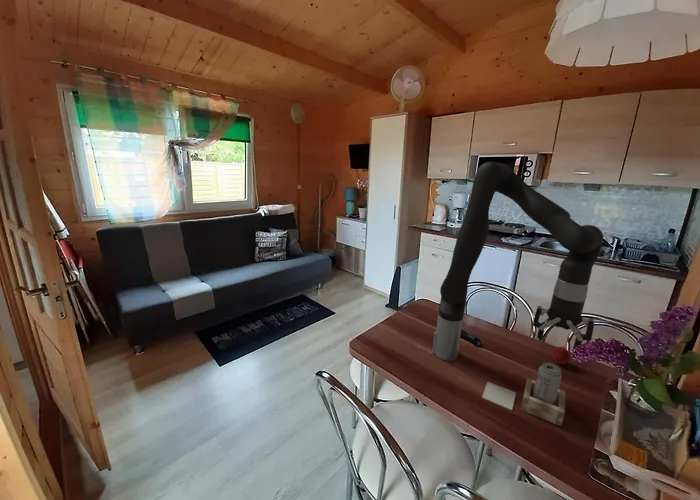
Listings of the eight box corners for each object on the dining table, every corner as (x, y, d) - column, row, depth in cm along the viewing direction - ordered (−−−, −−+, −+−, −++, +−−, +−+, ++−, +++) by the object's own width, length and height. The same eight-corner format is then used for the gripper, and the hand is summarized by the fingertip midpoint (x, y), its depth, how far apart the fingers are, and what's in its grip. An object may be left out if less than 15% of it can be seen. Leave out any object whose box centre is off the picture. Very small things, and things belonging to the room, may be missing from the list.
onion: (570, 369, 115) (575, 351, 113) (554, 367, 116) (558, 349, 114) (563, 360, 120) (568, 342, 118) (547, 358, 121) (552, 340, 119)
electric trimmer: (453, 328, 142) (453, 322, 141) (482, 345, 129) (483, 338, 128) (447, 331, 140) (448, 325, 139) (476, 348, 127) (477, 341, 127)
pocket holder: (520, 409, 95) (523, 396, 94) (524, 390, 104) (527, 377, 102) (561, 426, 90) (564, 412, 88) (561, 404, 98) (565, 391, 97)
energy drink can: (556, 415, 94) (567, 374, 89) (537, 413, 94) (547, 373, 90) (545, 400, 99) (555, 361, 95) (527, 399, 100) (536, 360, 95)
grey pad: (481, 397, 100) (481, 396, 100) (487, 382, 107) (487, 381, 107) (511, 410, 95) (512, 409, 95) (515, 393, 102) (516, 392, 102)
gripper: (599, 297, 85) (586, 347, 89) (540, 285, 93) (530, 331, 97) (602, 306, 79) (587, 360, 84) (539, 293, 87) (528, 342, 91)
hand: (557, 344), depth 90 cm, fingers open, 8 cm apart
